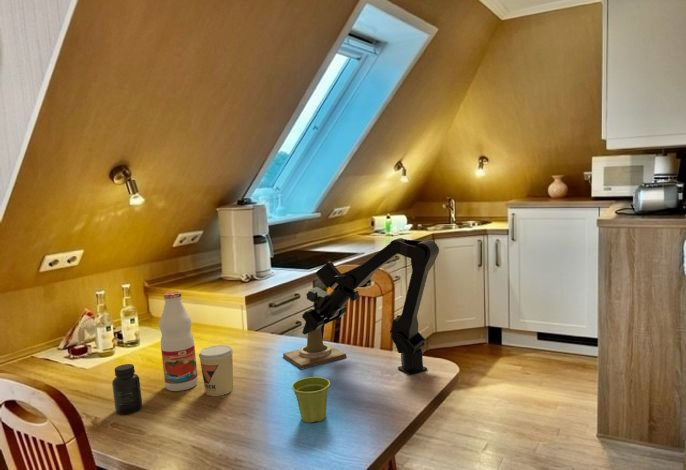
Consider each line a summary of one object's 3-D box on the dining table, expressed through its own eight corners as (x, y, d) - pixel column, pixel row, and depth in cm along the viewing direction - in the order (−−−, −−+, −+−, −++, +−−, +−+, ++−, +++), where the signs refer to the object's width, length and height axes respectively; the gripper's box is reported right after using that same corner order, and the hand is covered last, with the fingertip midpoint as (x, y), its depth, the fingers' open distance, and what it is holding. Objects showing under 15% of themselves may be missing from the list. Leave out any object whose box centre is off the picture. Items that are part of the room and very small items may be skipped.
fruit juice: (195, 377, 169) (186, 287, 166) (201, 387, 161) (191, 293, 157) (163, 383, 165) (153, 292, 162) (167, 394, 157) (157, 298, 153)
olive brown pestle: (328, 351, 181) (326, 318, 179) (315, 356, 177) (312, 323, 175) (316, 348, 185) (314, 316, 184) (302, 353, 181) (300, 320, 180)
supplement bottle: (122, 404, 152) (117, 363, 150) (146, 403, 151) (141, 361, 150) (111, 416, 145) (105, 372, 143) (136, 414, 145) (131, 371, 143)
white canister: (196, 392, 157) (192, 351, 156) (223, 381, 164) (219, 342, 162) (215, 400, 151) (210, 358, 149) (242, 388, 157) (239, 348, 156)
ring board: (346, 357, 178) (345, 350, 177) (301, 369, 170) (301, 361, 170) (326, 346, 190) (325, 339, 190) (283, 356, 182) (282, 349, 182)
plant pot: (318, 429, 130) (316, 394, 129) (286, 422, 135) (284, 388, 134) (339, 413, 138) (337, 380, 137) (309, 406, 143) (306, 374, 142)
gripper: (336, 274, 184) (311, 304, 191) (304, 286, 168) (278, 318, 175) (358, 298, 181) (332, 328, 188) (328, 313, 165) (301, 345, 172)
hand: (311, 329), depth 181 cm, fingers open, 9 cm apart
